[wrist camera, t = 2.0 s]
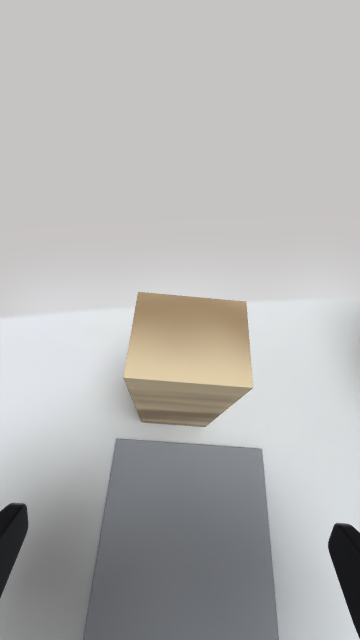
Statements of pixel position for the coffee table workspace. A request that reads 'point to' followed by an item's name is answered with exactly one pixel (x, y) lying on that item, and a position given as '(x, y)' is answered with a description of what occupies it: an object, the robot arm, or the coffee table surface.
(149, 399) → the oak block
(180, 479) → the slate mat
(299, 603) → the coffee table surface
